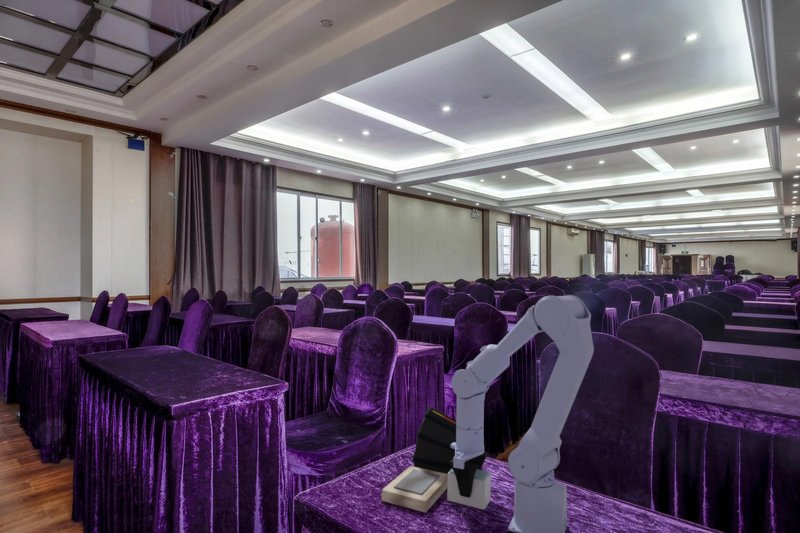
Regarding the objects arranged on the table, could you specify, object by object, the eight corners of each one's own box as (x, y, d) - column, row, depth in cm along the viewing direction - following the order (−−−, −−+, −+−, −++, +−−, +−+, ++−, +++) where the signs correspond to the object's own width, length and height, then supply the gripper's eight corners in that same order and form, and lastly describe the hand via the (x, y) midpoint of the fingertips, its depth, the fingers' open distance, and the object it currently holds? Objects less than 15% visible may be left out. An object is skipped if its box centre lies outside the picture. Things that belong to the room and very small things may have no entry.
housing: (490, 500, 94) (490, 471, 95) (484, 509, 90) (484, 479, 91) (454, 491, 98) (454, 463, 98) (447, 500, 94) (447, 471, 94)
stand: (450, 484, 101) (450, 473, 101) (425, 512, 89) (425, 499, 89) (410, 475, 106) (410, 464, 106) (381, 500, 93) (381, 488, 93)
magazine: (401, 458, 111) (428, 405, 111) (449, 485, 110) (477, 431, 110) (400, 464, 108) (428, 409, 107) (449, 492, 106) (477, 436, 106)
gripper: (462, 414, 103) (462, 474, 103) (439, 432, 90) (438, 501, 90) (493, 418, 100) (492, 480, 99) (473, 438, 87) (472, 509, 86)
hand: (468, 491), depth 94 cm, fingers closed on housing, 4 cm apart
